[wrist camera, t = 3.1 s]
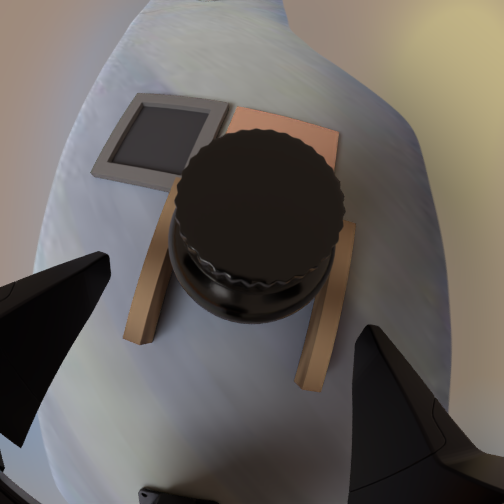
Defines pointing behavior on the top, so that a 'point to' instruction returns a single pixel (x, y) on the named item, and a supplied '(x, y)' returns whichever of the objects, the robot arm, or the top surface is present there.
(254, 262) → the supplement bottle
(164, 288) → the channel
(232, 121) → the pad
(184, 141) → the trap pit
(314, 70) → the top surface
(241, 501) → the top surface
